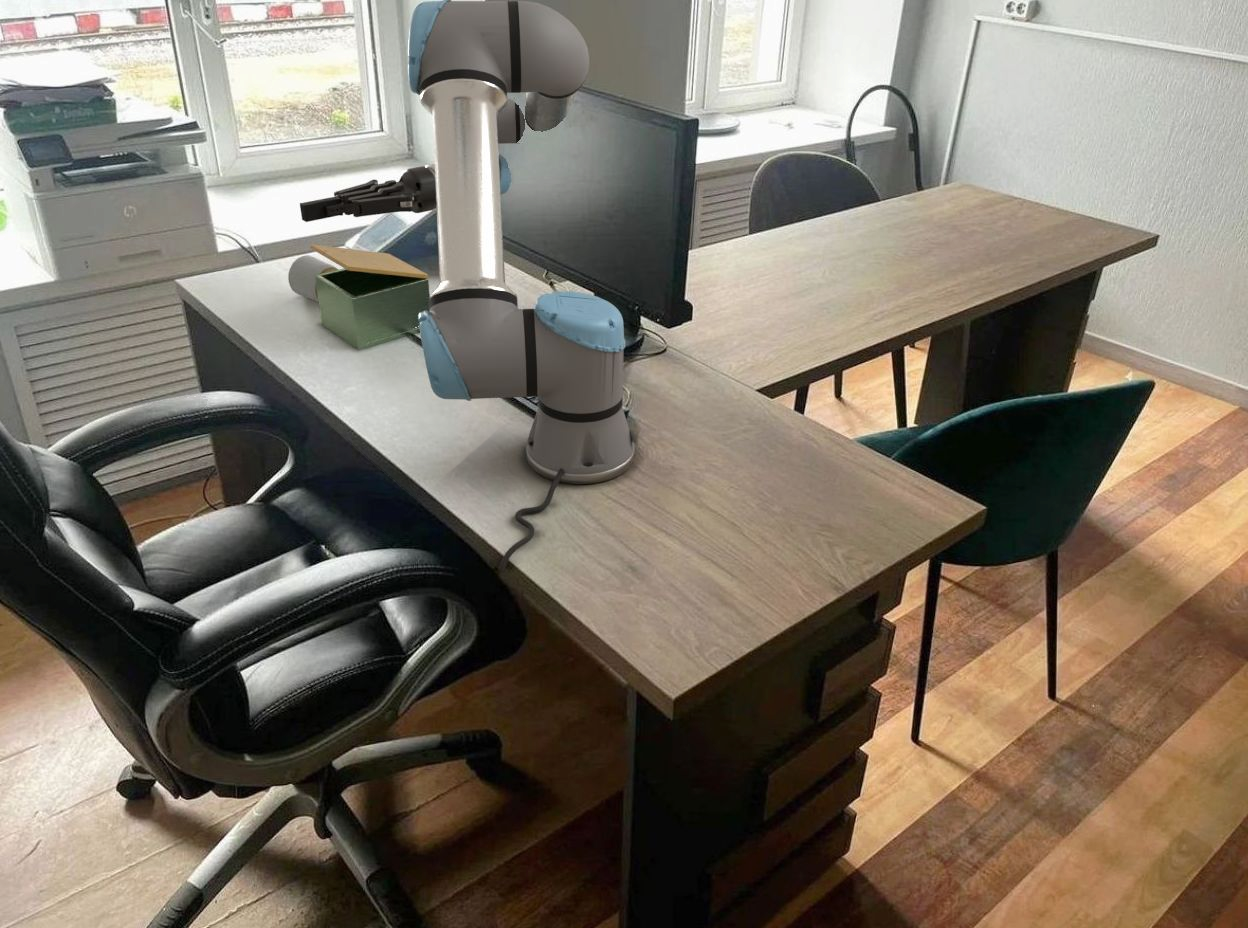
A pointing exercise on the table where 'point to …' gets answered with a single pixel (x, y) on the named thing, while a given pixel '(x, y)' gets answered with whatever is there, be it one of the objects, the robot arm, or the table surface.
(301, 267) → the ceramic mug
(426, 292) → the tea tin
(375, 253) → the lid
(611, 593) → the table surface
